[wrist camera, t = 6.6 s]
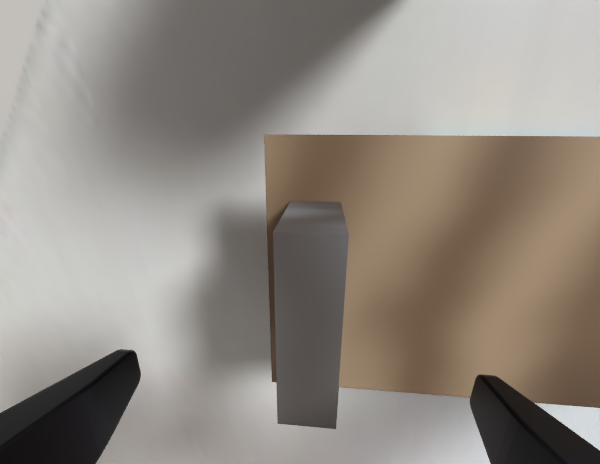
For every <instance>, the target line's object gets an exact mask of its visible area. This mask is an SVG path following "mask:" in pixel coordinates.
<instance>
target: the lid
mask: <svg viewBox="0 0 600 464" xmlns="http://www.w3.org/2000/svg"><path fill="white" fill-rule="evenodd" d="M264 143H265V175H266V206H267V237H268V269H269V300H270V331H271V363H272V382H277V413H278V424H288V425H299V426H310V427H321V428H332V429H336V419H337V404H338V389H339V387H344V388H357V389H369V390H382V391H395V392H407V393H420V394H432V395H445V396H458V397H471V393H472V390H473V386H474V382H475V379H476V377H477V376H478V375H480V374H482V375H494V376H497V377H499V378H500V379H502V380H503V381H504V382H506V383H507V384H508V385H510V386H511V387H513V388H514V389H515V390H517V391H518V392H519V393H521V394H522V395H524V396H525V397H526V398H528V399H529V400H531V401H532V402H533V403H546V404H558V405H571V406H583V407H596V408H600V137H558V136H406V135H264Z"/></svg>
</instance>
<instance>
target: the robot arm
mask: <svg viewBox="0 0 600 464" xmlns="http://www.w3.org/2000/svg"><path fill="white" fill-rule="evenodd" d="M140 377H141V372H140V368H139V363H138V359H137V354H136V352H135V351H133V350H123V349H121V350H117V351H115V352H113V353H111V354H109V355H108V356H106V357H104V358H102V359H100V360H98V361H96V362H94V363H93V364H91V365H89V366H87V367H85V368H83V369H81V370H80V371H78V372H76V373H74V374H72V375H70V376H68V377H67V378H65V379H63V380H61V381H59V382H57V383H55V384H53V385H52V386H50V387H48V388H46V389H44V390H42V391H40V392H39V393H37V394H35V395H33V396H31V397H29V398H27V399H25V400H24V401H22V402H20V403H18V404H16V405H14V406H12V407H11V408H9V409H7V410H5V411H3V412H1V413H0V464H96V462H97V460H98V459H99V457H100V456H101V454H102V452H103V451H104V449H105V447H106V445H107V444H108V442H109V440H110V438H111V436H112V435H113V433H114V431H115V429H116V427H117V425H118V423H119V421H120V419H121V417H122V415H123V413H124V411H125V409H126V407H127V405H128V403H129V401H130V399H131V397H132V395H133V393H134V391H135V390H136V388H137V386H138V384H139V381H140ZM470 406H471V410H472V413H473V415H474V418H475V421H476V424H477V427H478V429H479V432H480V435H481V438H482V441H483V443H484V446H485V449H486V452H487V455H488V457H489V460H490V463H491V464H600V451H599V450H598V449H597V448H595V447H594V446H593V445H591V444H590V443H588V442H587V441H586V440H584V439H583V438H581V437H580V436H579V435H577V434H576V433H575V432H573V431H572V430H570V429H569V428H568V427H566V426H565V425H564V424H562V423H561V422H559V421H558V420H557V419H555V418H554V417H553V416H551V415H550V414H548V413H547V412H546V411H544V410H543V409H542V408H540V407H539V406H537V405H536V404H535V403H533V402H532V401H531V400H529V399H528V398H526V397H525V396H524V395H522V394H521V393H519V392H518V391H517V390H515V389H514V388H513V387H511V386H510V385H508V384H507V383H506V382H504V381H503V380H502V379H500V378H499V377H497V376H494V375H482V374H480V375H478V376H477V377H476V379H475V382H474V386H473V390H472V393H471V397H470Z"/></svg>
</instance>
